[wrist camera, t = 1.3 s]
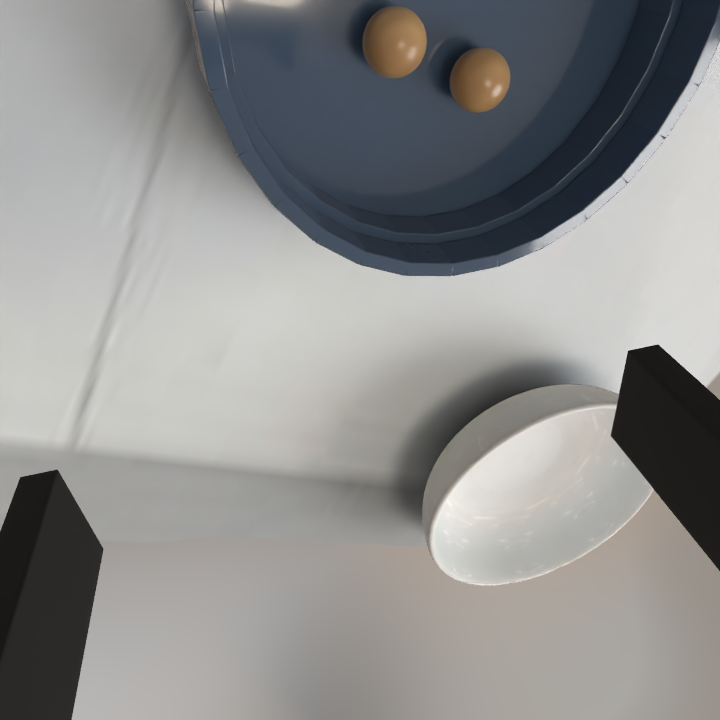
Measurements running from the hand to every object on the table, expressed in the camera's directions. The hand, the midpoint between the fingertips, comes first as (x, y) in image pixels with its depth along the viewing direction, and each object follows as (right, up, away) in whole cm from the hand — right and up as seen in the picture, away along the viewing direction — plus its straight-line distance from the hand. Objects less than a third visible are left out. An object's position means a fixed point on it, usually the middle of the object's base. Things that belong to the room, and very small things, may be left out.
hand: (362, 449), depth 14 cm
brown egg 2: (+6, +16, +16) cm, 23 cm away
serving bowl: (+13, -5, +38) cm, 41 cm away
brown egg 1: (+2, +17, +14) cm, 22 cm away
